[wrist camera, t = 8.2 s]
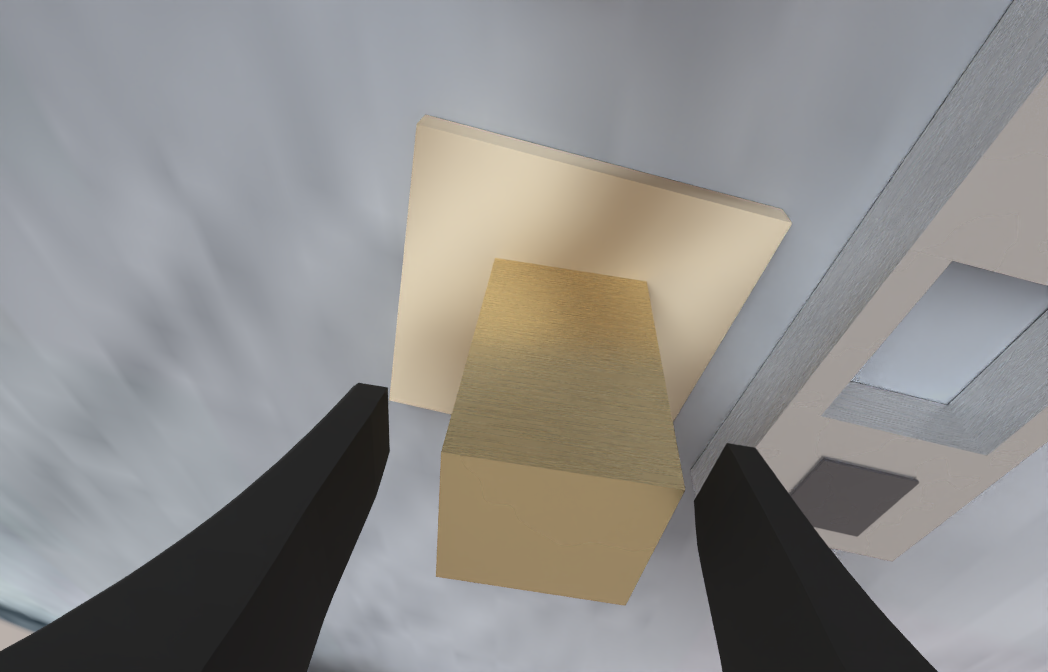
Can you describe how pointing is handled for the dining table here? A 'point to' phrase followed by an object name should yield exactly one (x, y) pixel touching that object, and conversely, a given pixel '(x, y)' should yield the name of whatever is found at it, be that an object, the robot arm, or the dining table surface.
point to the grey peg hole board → (887, 297)
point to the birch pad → (564, 249)
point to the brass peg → (558, 438)
